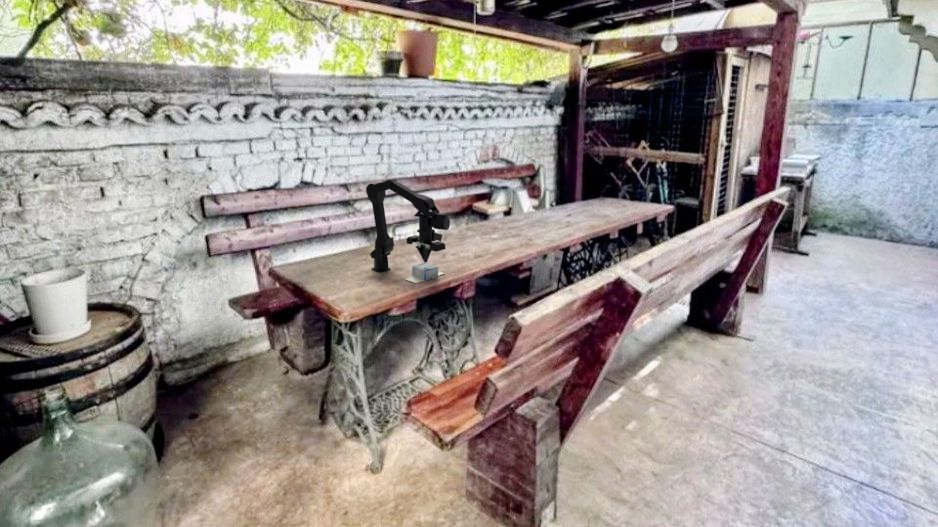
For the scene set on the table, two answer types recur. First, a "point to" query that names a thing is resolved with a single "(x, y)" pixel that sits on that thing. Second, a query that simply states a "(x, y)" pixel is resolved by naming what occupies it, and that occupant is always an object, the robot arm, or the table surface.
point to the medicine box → (424, 271)
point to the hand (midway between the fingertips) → (425, 262)
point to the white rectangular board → (416, 279)
